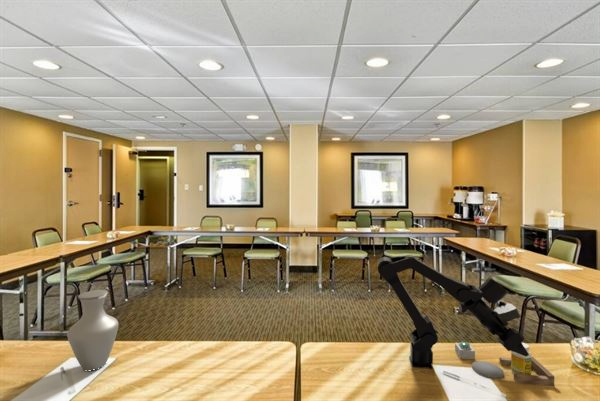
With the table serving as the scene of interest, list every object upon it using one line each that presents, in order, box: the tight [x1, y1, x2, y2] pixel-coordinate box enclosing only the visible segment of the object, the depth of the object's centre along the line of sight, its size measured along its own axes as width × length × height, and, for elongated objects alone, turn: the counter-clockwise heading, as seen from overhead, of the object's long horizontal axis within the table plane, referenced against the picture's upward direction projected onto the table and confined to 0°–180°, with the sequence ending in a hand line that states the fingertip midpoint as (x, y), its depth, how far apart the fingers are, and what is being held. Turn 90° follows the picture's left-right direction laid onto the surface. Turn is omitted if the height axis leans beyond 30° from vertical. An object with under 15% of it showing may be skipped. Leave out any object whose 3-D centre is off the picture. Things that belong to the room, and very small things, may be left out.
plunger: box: [459, 341, 471, 349], centre depth 111 cm, size 3×3×4 cm
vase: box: [66, 289, 120, 371], centre depth 104 cm, size 14×14×25 cm
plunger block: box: [454, 342, 476, 360], centre depth 111 cm, size 5×5×3 cm
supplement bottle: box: [510, 342, 533, 375], centre depth 100 cm, size 5×5×10 cm
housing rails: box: [498, 356, 555, 387], centre depth 100 cm, size 10×11×3 cm
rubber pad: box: [471, 360, 505, 380], centre depth 102 cm, size 9×9×1 cm
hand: (519, 347), depth 100 cm, fingers open, 9 cm apart
